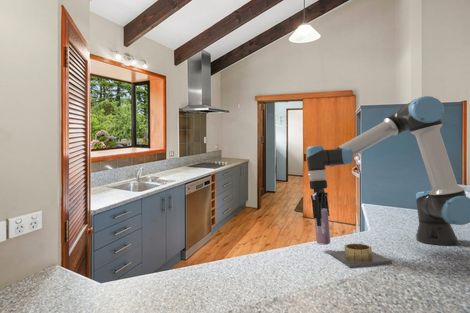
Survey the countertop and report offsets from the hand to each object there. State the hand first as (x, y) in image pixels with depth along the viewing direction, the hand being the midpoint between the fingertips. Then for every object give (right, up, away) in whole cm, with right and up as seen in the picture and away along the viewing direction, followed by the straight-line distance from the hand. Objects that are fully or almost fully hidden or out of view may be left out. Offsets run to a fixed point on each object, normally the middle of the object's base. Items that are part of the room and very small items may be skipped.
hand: (323, 231), depth 115 cm
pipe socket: (+9, -7, -14) cm, 18 cm away
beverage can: (0, -5, -1) cm, 5 cm away
